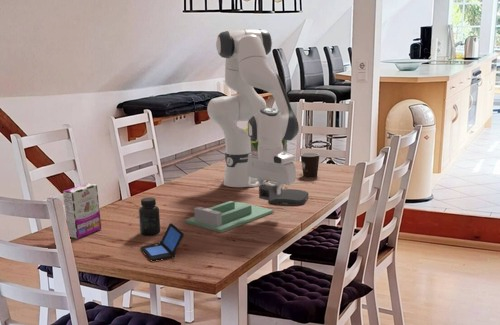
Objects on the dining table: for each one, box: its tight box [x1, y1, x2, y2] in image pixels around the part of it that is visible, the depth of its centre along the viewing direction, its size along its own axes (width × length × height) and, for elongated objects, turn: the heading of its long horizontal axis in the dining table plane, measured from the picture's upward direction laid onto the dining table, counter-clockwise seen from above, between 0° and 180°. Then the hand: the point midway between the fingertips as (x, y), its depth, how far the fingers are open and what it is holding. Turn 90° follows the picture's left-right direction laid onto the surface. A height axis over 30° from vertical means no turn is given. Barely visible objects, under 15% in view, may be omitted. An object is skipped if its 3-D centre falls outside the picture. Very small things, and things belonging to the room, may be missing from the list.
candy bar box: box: [62, 182, 102, 240], centre depth 203 cm, size 11×5×16 cm, turn 148°
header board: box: [184, 200, 275, 233], centre depth 217 cm, size 28×18×6 cm, turn 139°
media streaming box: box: [268, 188, 309, 206], centre depth 238 cm, size 15×15×3 cm
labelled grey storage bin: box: [258, 181, 283, 202], centre depth 213 cm, size 7×5×5 cm
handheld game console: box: [140, 222, 185, 262], centre depth 184 cm, size 12×11×7 cm
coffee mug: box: [300, 152, 320, 178], centre depth 276 cm, size 12×9×10 cm
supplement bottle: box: [138, 197, 161, 237], centre depth 202 cm, size 7×7×12 cm
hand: (270, 192), depth 213 cm, fingers closed on labelled grey storage bin, 5 cm apart
